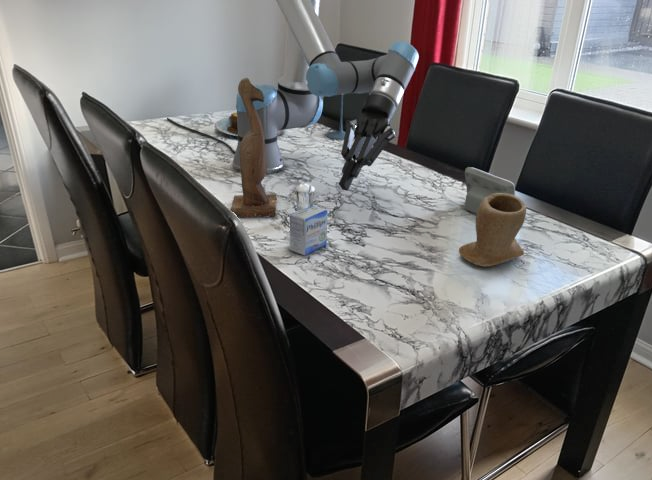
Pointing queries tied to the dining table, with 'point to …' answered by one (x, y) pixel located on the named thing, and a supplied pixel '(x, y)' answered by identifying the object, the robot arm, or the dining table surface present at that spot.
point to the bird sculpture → (253, 161)
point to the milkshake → (304, 196)
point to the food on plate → (229, 125)
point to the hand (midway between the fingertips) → (343, 187)
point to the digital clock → (483, 187)
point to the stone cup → (496, 231)
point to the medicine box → (308, 230)
